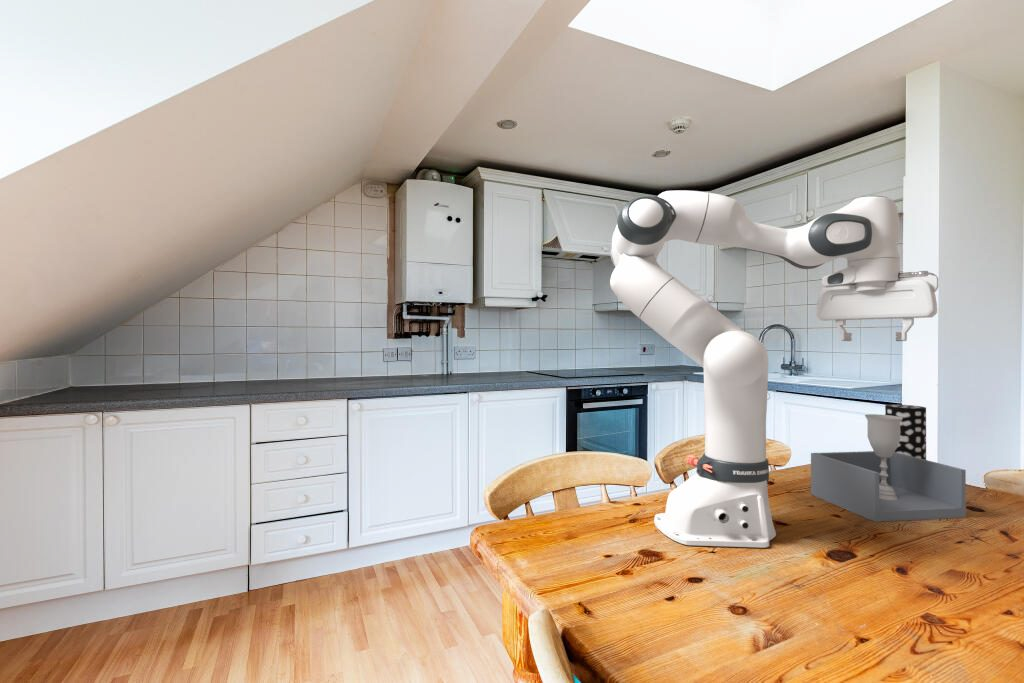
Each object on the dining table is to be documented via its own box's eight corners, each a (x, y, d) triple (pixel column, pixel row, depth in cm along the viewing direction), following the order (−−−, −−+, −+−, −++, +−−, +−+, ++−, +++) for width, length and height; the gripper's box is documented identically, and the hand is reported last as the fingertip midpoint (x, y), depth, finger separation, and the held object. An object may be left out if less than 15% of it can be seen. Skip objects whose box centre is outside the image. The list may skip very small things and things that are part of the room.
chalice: (909, 503, 105) (909, 419, 105) (872, 500, 107) (872, 418, 107) (894, 493, 112) (893, 415, 112) (859, 490, 114) (859, 413, 114)
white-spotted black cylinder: (935, 487, 122) (935, 408, 122) (901, 487, 122) (901, 408, 122) (908, 478, 131) (908, 404, 131) (877, 478, 131) (877, 404, 131)
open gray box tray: (874, 521, 99) (874, 473, 99) (810, 494, 117) (810, 453, 117) (965, 517, 101) (965, 469, 101) (889, 491, 119) (889, 450, 119)
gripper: (941, 271, 95) (941, 341, 95) (823, 281, 111) (823, 341, 111) (934, 267, 91) (935, 341, 91) (813, 278, 107) (813, 341, 107)
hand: (872, 341), depth 101 cm, fingers open, 8 cm apart
